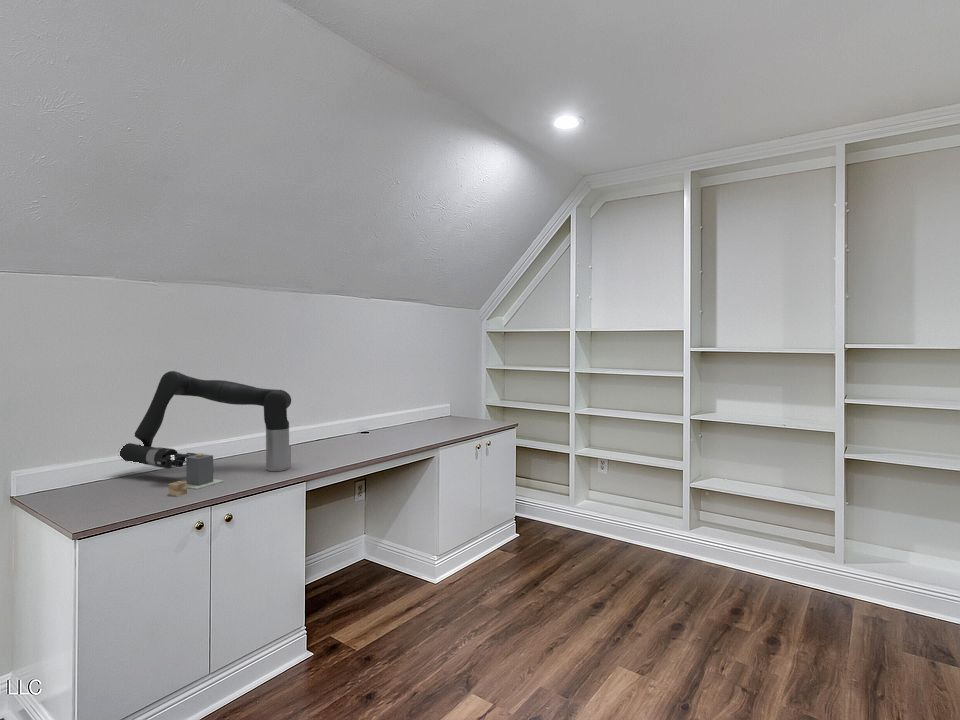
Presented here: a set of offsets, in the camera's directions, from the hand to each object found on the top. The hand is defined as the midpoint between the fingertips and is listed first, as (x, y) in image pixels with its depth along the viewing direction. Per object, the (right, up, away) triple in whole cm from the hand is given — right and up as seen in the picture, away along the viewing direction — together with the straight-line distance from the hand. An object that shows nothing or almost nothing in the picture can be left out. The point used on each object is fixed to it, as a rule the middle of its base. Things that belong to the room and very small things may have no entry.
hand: (192, 461), depth 209 cm
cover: (+3, -8, -1) cm, 8 cm away
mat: (+3, -8, -1) cm, 9 cm away
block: (+3, -9, -15) cm, 17 cm away
